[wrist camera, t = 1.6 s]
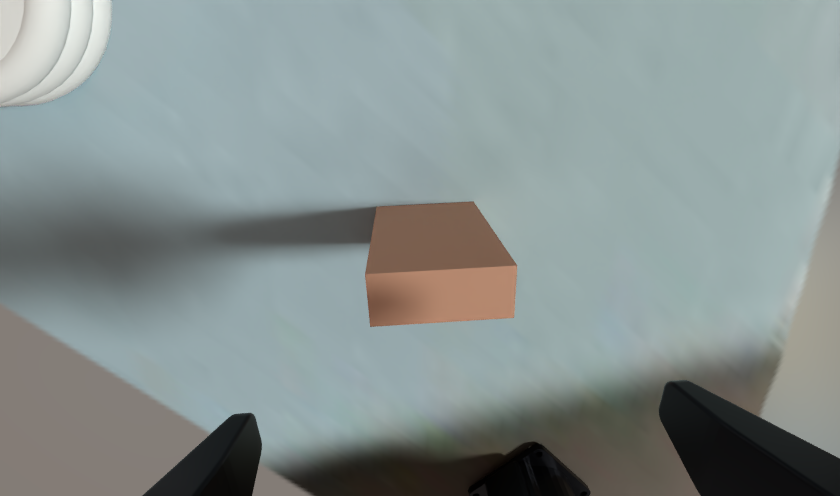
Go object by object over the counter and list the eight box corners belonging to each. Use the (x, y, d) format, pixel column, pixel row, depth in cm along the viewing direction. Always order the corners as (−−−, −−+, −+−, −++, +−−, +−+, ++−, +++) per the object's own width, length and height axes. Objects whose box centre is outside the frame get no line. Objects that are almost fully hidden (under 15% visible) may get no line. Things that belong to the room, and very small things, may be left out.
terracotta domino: (472, 237, 21) (514, 317, 14) (379, 242, 21) (370, 326, 14) (473, 201, 20) (516, 265, 13) (376, 206, 20) (364, 274, 13)
